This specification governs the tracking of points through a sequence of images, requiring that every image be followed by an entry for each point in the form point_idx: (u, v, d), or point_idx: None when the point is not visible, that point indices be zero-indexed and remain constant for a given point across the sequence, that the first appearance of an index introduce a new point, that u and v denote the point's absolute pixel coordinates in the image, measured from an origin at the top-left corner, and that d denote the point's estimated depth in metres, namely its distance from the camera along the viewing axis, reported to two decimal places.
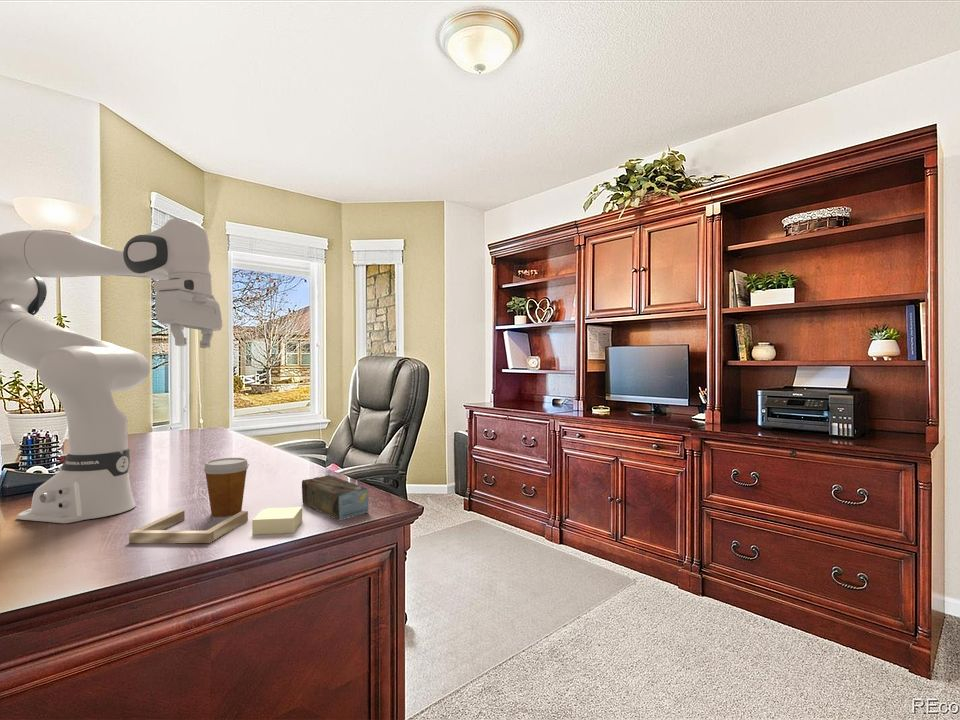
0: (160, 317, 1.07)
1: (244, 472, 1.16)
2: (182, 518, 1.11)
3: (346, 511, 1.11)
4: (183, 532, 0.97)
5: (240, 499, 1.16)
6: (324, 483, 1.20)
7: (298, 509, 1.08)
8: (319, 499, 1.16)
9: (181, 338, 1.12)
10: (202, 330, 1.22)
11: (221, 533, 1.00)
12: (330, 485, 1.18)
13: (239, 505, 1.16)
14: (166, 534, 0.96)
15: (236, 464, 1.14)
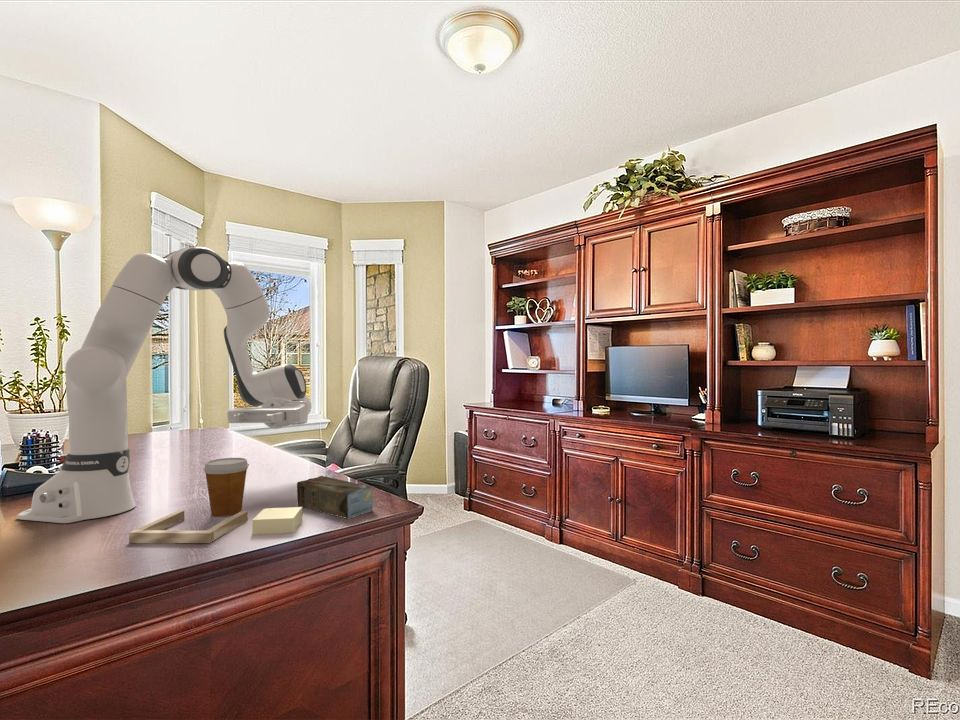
0: (300, 412, 1.34)
1: (244, 472, 1.16)
2: (182, 518, 1.11)
3: (354, 510, 1.12)
4: (183, 532, 0.97)
5: (240, 499, 1.16)
6: (324, 483, 1.19)
7: (298, 509, 1.08)
8: (321, 499, 1.16)
9: (275, 420, 1.30)
10: (244, 414, 1.33)
11: (221, 533, 1.00)
12: (331, 485, 1.18)
13: (239, 505, 1.16)
14: (166, 534, 0.96)
15: (236, 464, 1.14)
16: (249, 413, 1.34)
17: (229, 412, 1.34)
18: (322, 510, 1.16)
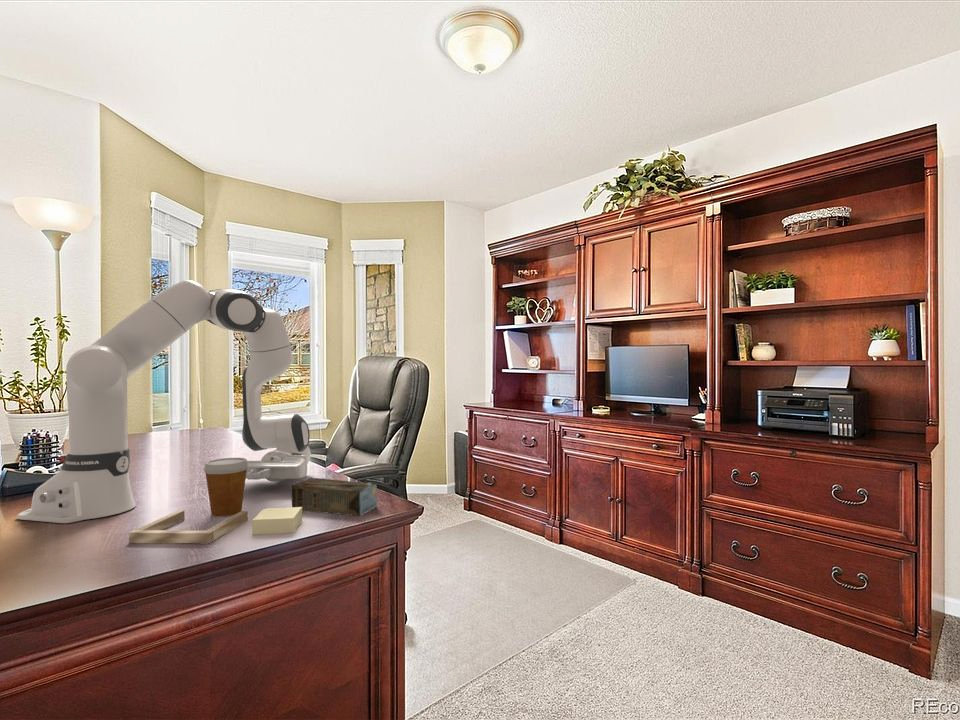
0: (300, 468, 1.34)
1: (244, 472, 1.16)
2: (182, 518, 1.11)
3: (364, 507, 1.15)
4: (183, 532, 0.97)
5: (240, 499, 1.16)
6: (323, 484, 1.18)
7: (298, 509, 1.08)
8: (326, 500, 1.15)
9: (261, 477, 1.30)
10: (257, 470, 1.33)
11: (221, 533, 1.00)
12: (333, 485, 1.18)
13: (239, 505, 1.16)
14: (166, 534, 0.96)
15: (236, 464, 1.14)
16: (249, 469, 1.34)
17: None
18: (326, 510, 1.16)
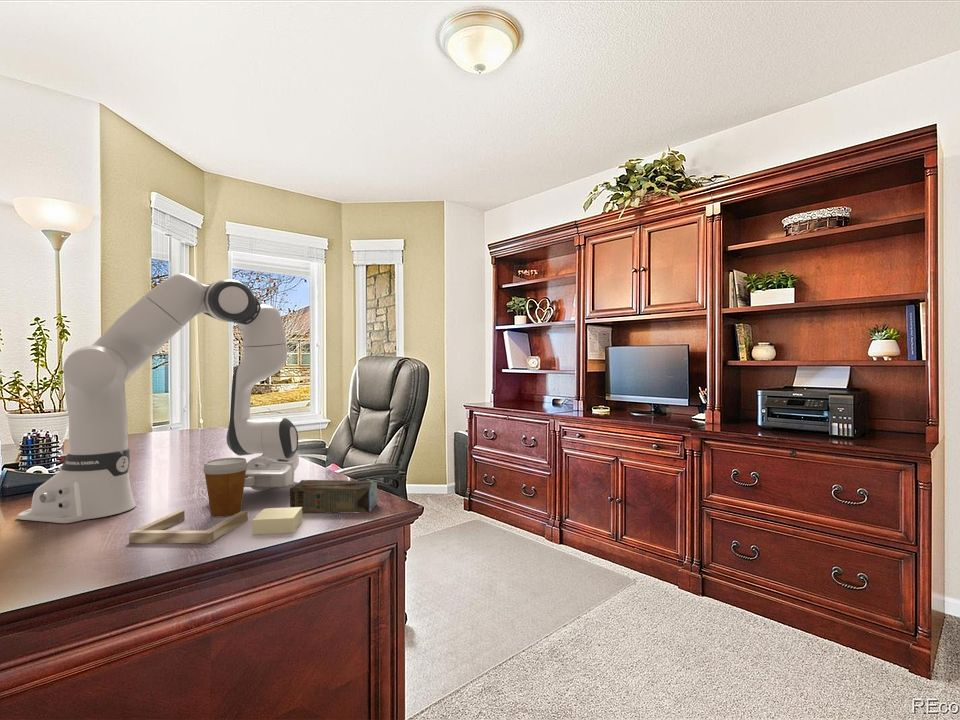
0: (286, 476, 1.25)
1: (243, 472, 1.16)
2: (182, 518, 1.11)
3: (371, 503, 1.17)
4: (183, 532, 0.97)
5: (239, 499, 1.16)
6: (324, 485, 1.18)
7: (298, 509, 1.08)
8: (331, 500, 1.15)
9: (244, 486, 1.22)
10: None
11: (221, 533, 1.00)
12: (335, 485, 1.18)
13: (238, 505, 1.16)
14: (166, 534, 0.96)
15: (235, 464, 1.14)
16: None
17: None
18: (331, 510, 1.16)
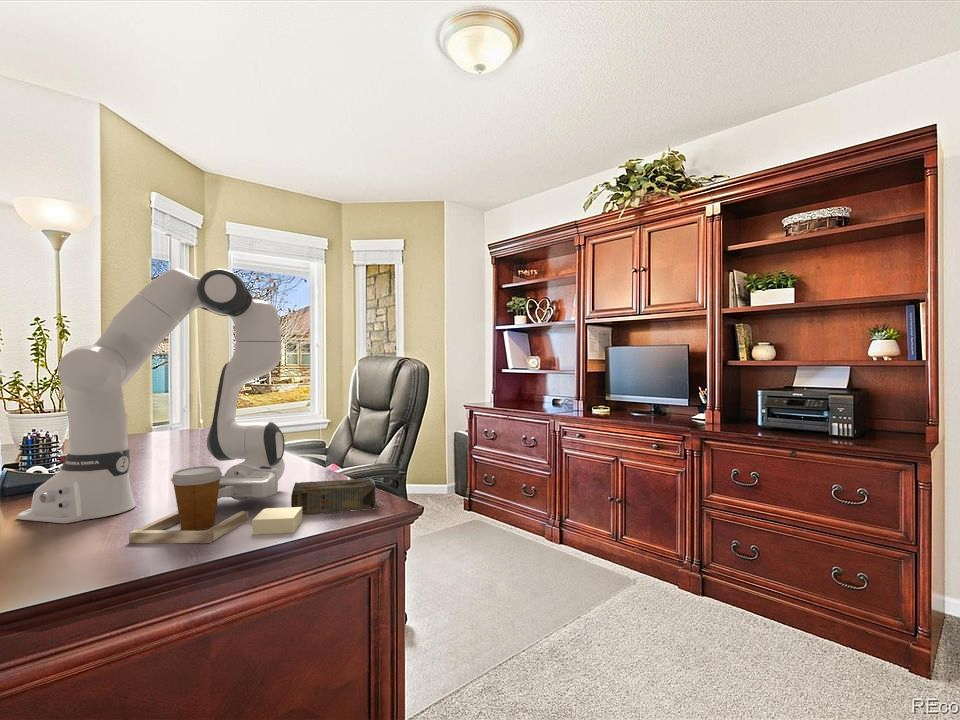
0: (268, 485, 1.15)
1: (214, 483, 1.05)
2: None
3: None
4: (183, 532, 0.97)
5: (210, 513, 1.05)
6: (326, 485, 1.17)
7: (298, 509, 1.08)
8: (336, 499, 1.16)
9: (221, 496, 1.12)
10: None
11: (221, 533, 1.00)
12: (337, 485, 1.18)
13: (209, 519, 1.05)
14: (166, 534, 0.96)
15: (202, 475, 1.03)
16: None
17: None
18: (337, 510, 1.16)
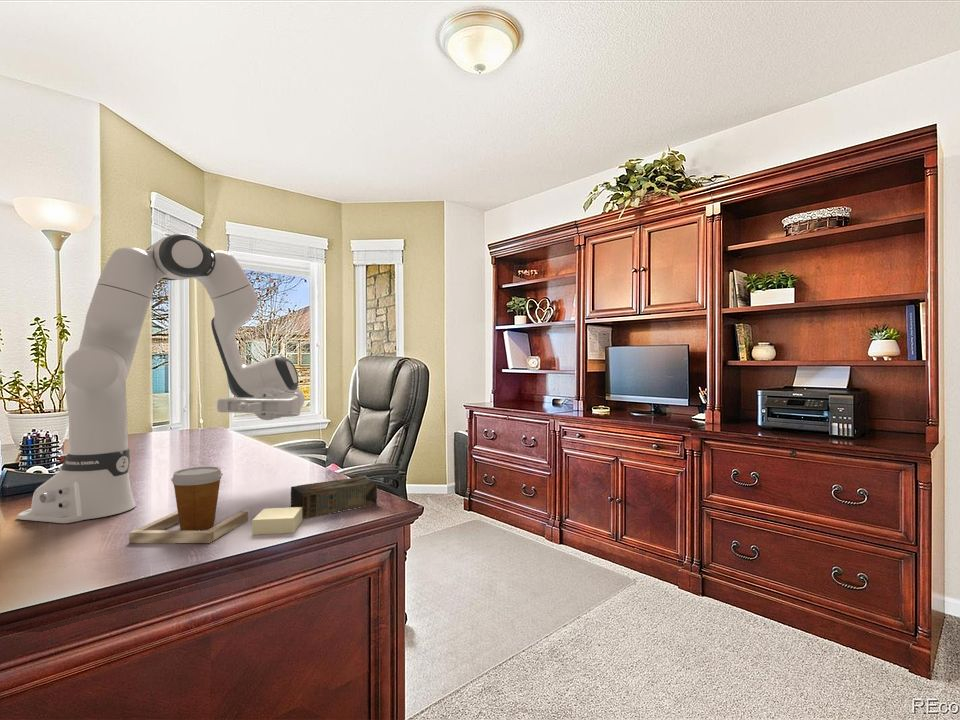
0: (293, 403, 1.30)
1: (214, 484, 1.05)
2: None
3: None
4: (183, 532, 0.97)
5: (210, 513, 1.05)
6: (329, 485, 1.17)
7: (298, 509, 1.08)
8: (343, 498, 1.17)
9: (252, 409, 1.26)
10: (248, 404, 1.29)
11: (221, 533, 1.00)
12: (338, 484, 1.19)
13: (208, 520, 1.05)
14: (166, 534, 0.96)
15: (203, 475, 1.03)
16: (240, 402, 1.30)
17: (219, 401, 1.30)
18: (343, 509, 1.17)
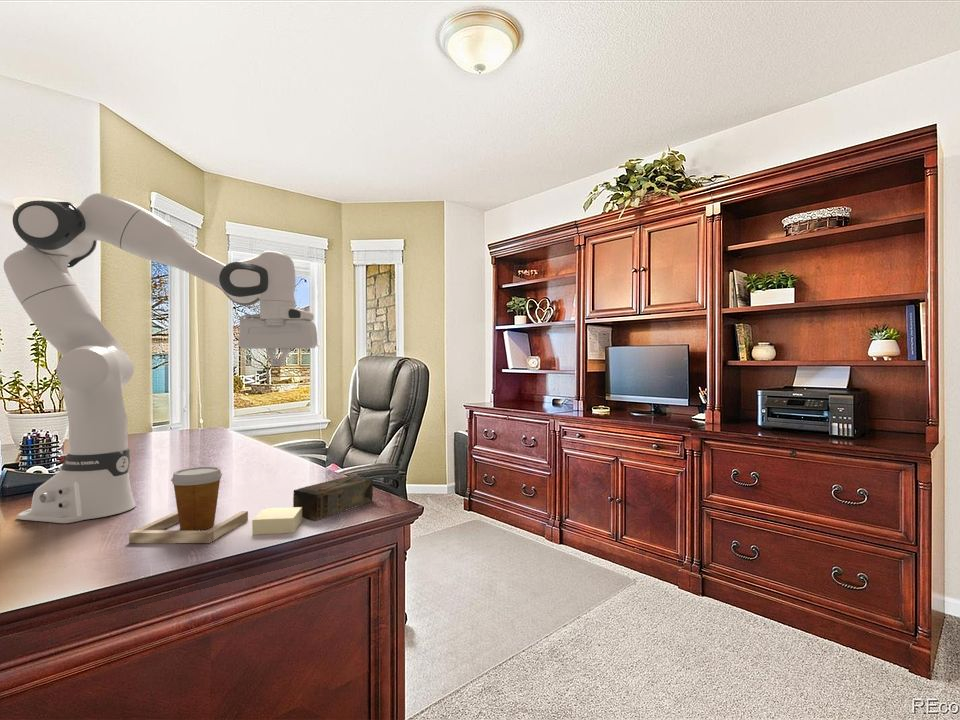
0: (314, 343, 1.31)
1: (214, 484, 1.05)
2: None
3: None
4: (183, 532, 0.97)
5: (210, 513, 1.05)
6: (333, 485, 1.17)
7: (298, 509, 1.08)
8: (348, 497, 1.18)
9: (284, 360, 1.33)
10: (272, 348, 1.32)
11: (221, 533, 1.00)
12: (340, 484, 1.19)
13: (208, 520, 1.05)
14: (166, 534, 0.96)
15: (202, 475, 1.03)
16: None
17: None
18: (348, 507, 1.18)
